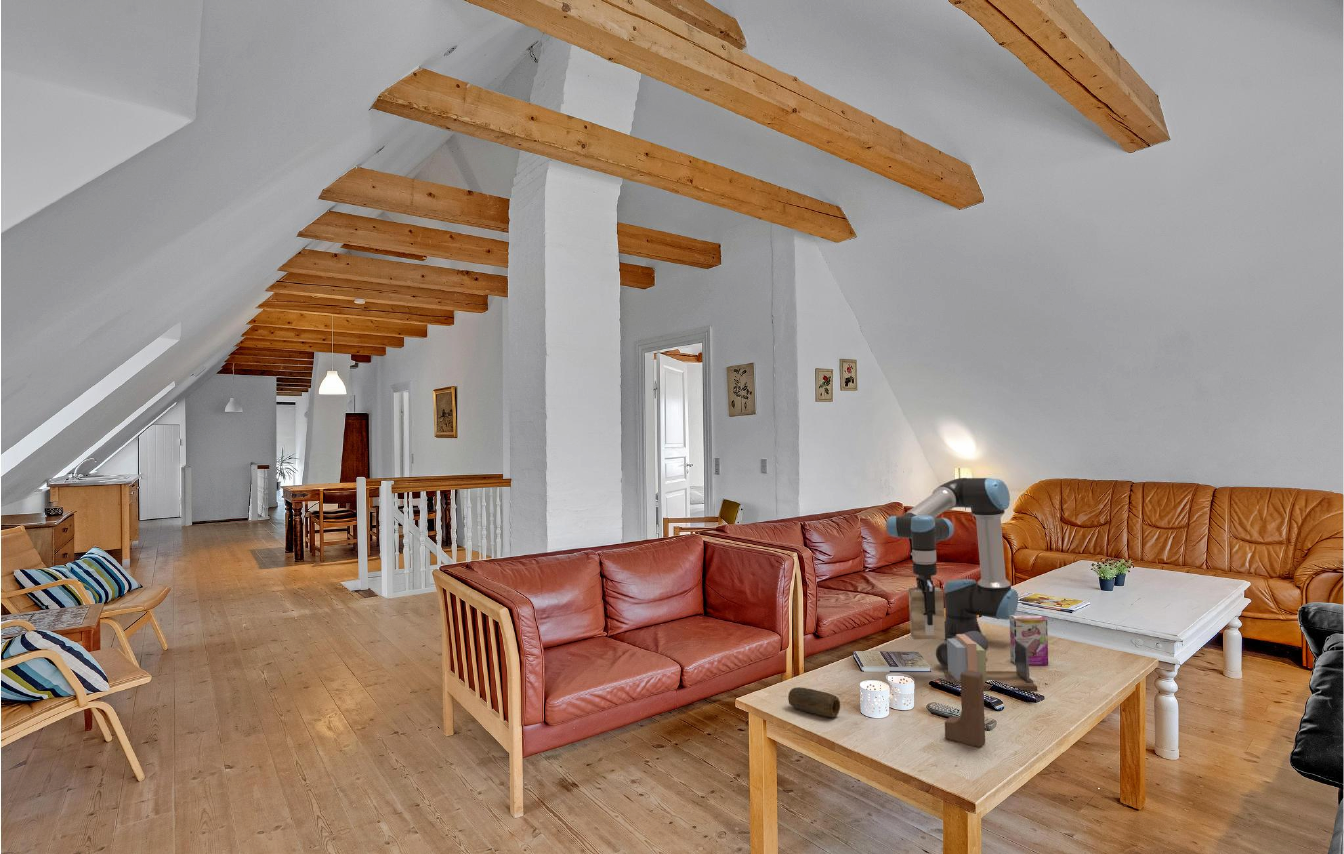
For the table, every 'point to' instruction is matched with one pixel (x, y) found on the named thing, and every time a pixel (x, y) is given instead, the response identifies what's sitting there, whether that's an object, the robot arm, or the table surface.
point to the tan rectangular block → (918, 618)
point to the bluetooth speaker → (942, 648)
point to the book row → (965, 656)
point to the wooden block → (969, 712)
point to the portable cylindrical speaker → (814, 701)
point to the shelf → (1000, 680)
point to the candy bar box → (1030, 637)
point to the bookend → (1022, 662)
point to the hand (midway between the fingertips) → (927, 631)
